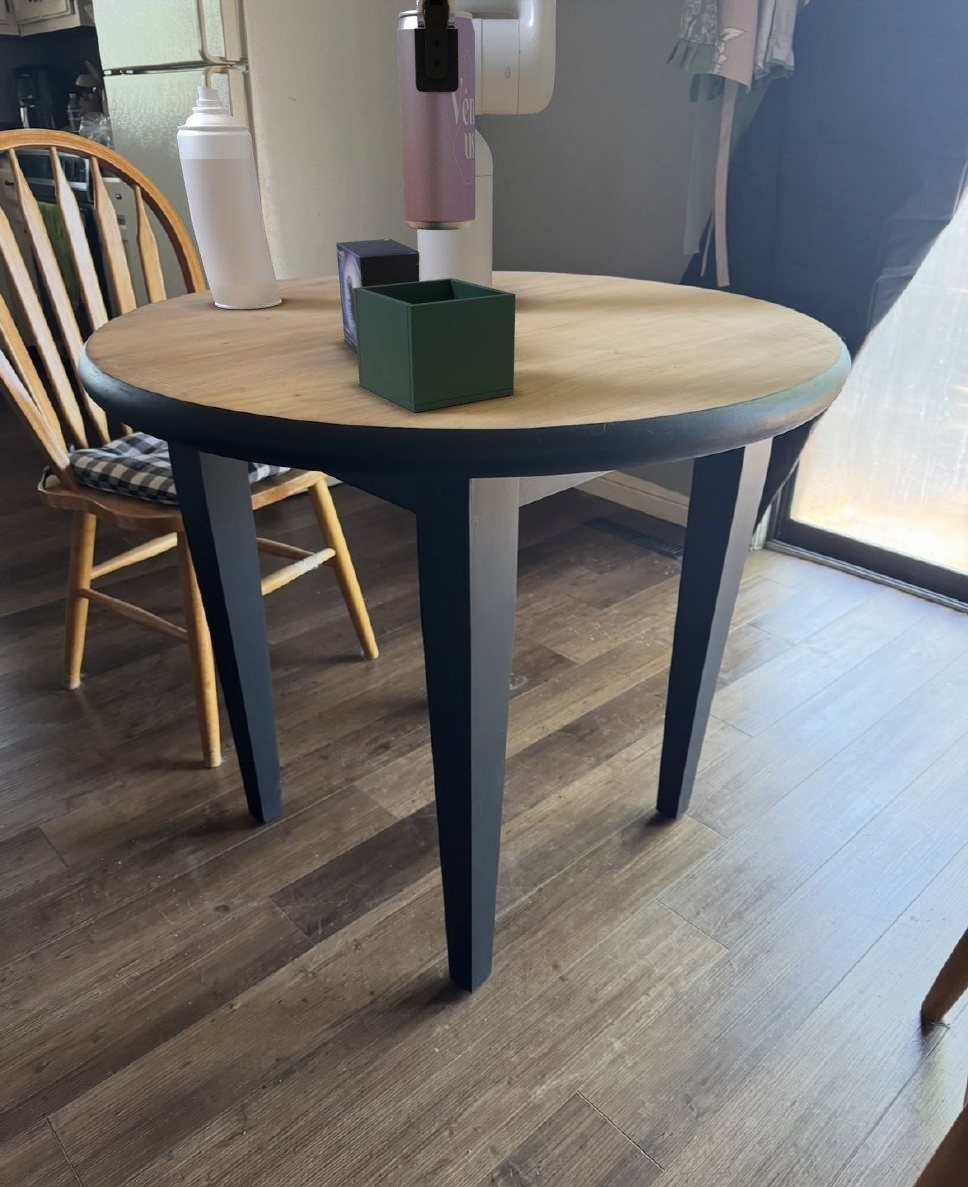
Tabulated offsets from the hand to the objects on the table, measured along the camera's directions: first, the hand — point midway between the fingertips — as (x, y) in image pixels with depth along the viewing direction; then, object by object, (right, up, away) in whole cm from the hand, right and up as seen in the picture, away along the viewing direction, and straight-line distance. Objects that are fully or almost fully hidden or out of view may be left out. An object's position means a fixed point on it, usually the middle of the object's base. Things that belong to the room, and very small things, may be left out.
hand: (436, 90), depth 69 cm
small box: (-7, -14, +24) cm, 28 cm away
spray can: (-28, -2, +46) cm, 54 cm away
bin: (-1, -21, +10) cm, 24 cm away
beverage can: (0, -9, +5) cm, 10 cm away
